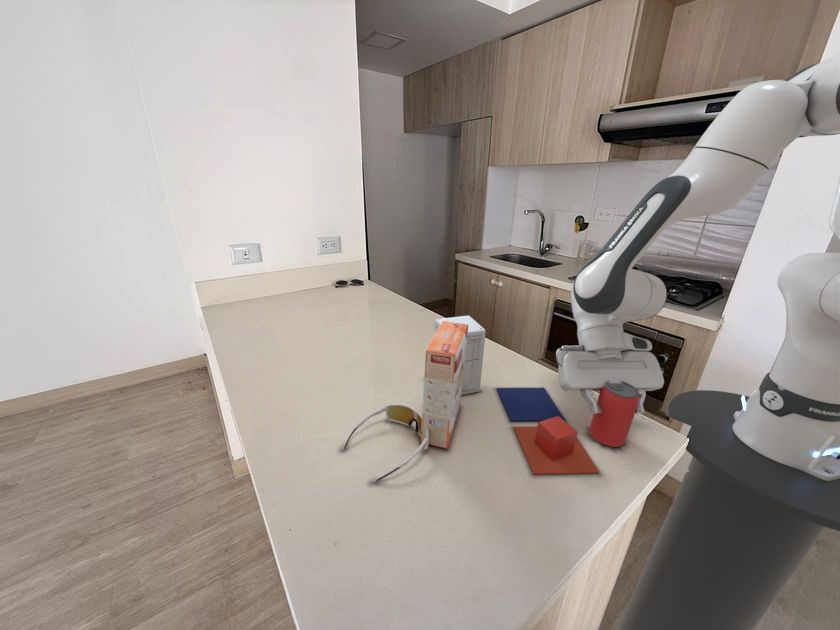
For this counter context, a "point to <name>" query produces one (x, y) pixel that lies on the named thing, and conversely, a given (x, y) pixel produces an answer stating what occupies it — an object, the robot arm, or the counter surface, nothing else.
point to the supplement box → (470, 352)
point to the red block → (555, 437)
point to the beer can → (614, 413)
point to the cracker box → (443, 382)
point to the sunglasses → (404, 416)
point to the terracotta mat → (563, 465)
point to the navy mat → (528, 404)
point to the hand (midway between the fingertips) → (617, 413)
